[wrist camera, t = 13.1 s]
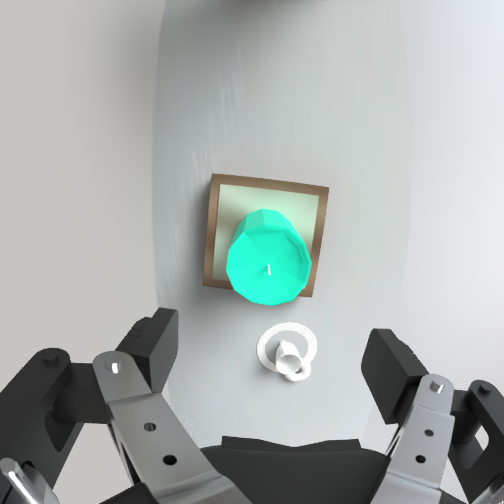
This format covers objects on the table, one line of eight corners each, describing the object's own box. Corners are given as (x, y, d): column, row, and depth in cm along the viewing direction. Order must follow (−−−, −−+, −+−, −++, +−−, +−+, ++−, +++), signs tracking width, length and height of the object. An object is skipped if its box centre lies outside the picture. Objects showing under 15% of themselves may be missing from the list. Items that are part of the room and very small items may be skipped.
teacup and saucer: (311, 375, 40) (315, 393, 36) (255, 374, 40) (255, 392, 37) (319, 321, 38) (325, 336, 34) (258, 320, 38) (258, 336, 34)
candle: (305, 244, 32) (331, 283, 20) (258, 276, 33) (258, 331, 21) (272, 196, 30) (281, 208, 19) (223, 230, 31) (204, 263, 20)
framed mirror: (216, 173, 34) (211, 173, 30) (322, 186, 34) (329, 187, 30) (207, 275, 37) (202, 286, 33) (307, 286, 37) (312, 298, 33)
